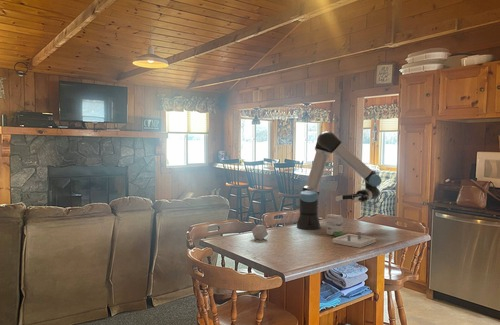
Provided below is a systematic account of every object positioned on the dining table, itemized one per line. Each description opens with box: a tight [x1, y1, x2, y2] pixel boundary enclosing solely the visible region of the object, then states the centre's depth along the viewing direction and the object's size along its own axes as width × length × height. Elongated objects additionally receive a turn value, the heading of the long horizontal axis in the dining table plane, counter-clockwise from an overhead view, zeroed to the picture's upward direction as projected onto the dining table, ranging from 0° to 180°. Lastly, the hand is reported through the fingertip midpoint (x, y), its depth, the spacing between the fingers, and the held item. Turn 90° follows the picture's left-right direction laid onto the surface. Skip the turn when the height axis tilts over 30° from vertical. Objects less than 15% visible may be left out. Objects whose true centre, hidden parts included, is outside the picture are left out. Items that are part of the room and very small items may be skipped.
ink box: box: [326, 213, 344, 237], centre depth 226 cm, size 9×5×12 cm, turn 39°
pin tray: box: [332, 231, 377, 248], centre depth 206 cm, size 16×18×5 cm
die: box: [251, 224, 269, 241], centre depth 213 cm, size 8×9×10 cm
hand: (345, 199), depth 234 cm, fingers open, 13 cm apart
